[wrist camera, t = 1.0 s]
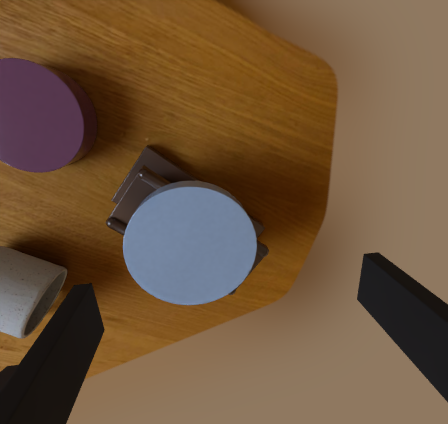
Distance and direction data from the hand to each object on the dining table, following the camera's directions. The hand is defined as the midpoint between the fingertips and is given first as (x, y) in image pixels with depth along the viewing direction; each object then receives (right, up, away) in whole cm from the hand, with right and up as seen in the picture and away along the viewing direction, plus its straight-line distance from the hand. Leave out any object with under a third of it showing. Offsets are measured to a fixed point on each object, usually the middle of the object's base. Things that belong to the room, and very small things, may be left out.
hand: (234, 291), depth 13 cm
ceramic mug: (-24, -4, +19) cm, 31 cm away
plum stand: (-18, +13, +13) cm, 25 cm away
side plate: (-3, +1, +11) cm, 11 cm away
